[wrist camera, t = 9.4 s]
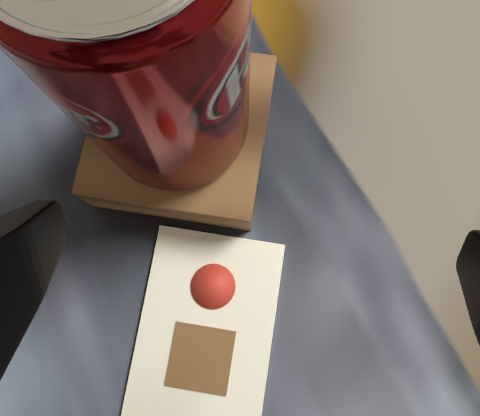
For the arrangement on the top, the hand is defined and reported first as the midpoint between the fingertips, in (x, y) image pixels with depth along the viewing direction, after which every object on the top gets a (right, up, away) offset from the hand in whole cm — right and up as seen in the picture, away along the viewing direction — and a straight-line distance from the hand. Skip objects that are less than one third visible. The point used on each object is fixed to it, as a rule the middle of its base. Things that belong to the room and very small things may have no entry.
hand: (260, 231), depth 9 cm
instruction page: (-2, -6, +13) cm, 14 cm away
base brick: (-4, +4, +15) cm, 16 cm away
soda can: (-4, +5, +12) cm, 13 cm away
